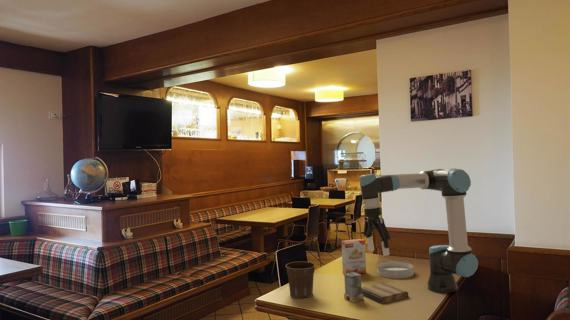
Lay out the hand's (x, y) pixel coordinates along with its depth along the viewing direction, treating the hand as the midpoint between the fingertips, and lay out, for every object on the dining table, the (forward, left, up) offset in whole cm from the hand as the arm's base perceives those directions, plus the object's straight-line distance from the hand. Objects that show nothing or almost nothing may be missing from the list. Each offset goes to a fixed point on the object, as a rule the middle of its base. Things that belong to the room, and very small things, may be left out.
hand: (378, 253), depth 184 cm
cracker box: (-30, -62, -28) cm, 74 cm away
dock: (-17, -19, -28) cm, 38 cm away
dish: (-50, -47, -28) cm, 74 cm away
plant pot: (+18, -44, -28) cm, 55 cm away
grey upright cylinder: (-1, -23, -28) cm, 36 cm away
